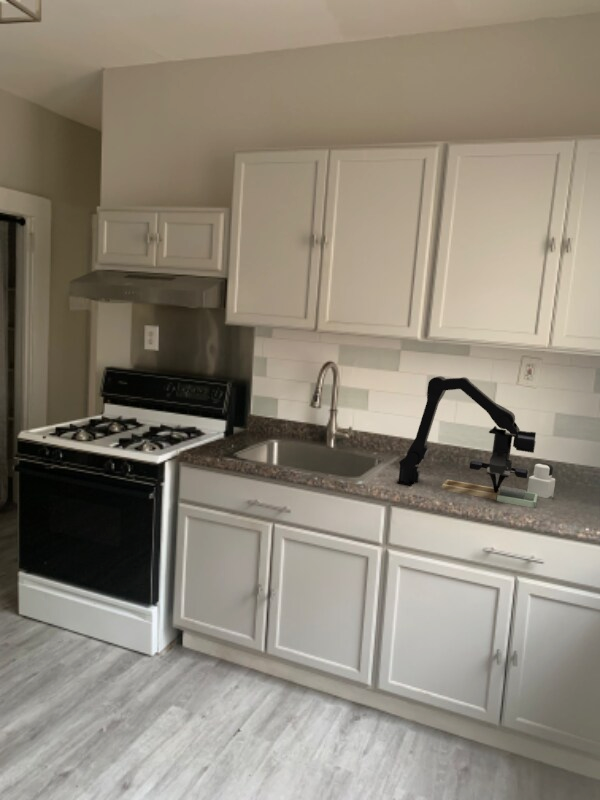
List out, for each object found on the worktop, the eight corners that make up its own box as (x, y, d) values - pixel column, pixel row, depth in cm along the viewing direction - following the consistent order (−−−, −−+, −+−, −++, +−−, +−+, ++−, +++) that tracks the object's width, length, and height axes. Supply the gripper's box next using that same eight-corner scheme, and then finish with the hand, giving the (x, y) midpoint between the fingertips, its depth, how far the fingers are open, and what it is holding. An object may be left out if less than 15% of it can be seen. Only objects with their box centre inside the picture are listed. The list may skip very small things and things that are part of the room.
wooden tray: (441, 492, 217) (442, 484, 217) (446, 487, 225) (447, 479, 225) (495, 502, 210) (496, 494, 210) (498, 496, 218) (499, 488, 218)
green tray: (496, 504, 209) (497, 495, 208) (500, 495, 220) (501, 487, 219) (534, 511, 204) (535, 502, 204) (536, 502, 215) (537, 493, 215)
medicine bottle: (532, 493, 227) (537, 460, 225) (553, 498, 223) (557, 465, 221) (525, 496, 222) (530, 463, 220) (546, 501, 217) (551, 467, 215)
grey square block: (510, 502, 211) (512, 490, 210) (511, 499, 214) (513, 488, 214) (523, 504, 209) (524, 492, 209) (524, 501, 213) (525, 490, 212)
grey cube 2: (498, 500, 212) (499, 488, 212) (499, 497, 216) (501, 485, 215) (510, 502, 211) (512, 490, 210) (511, 499, 214) (513, 488, 214)
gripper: (469, 447, 208) (464, 492, 211) (529, 456, 201) (522, 503, 203) (474, 442, 219) (469, 485, 221) (531, 450, 211) (525, 495, 213)
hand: (495, 492), depth 214 cm, fingers closed
